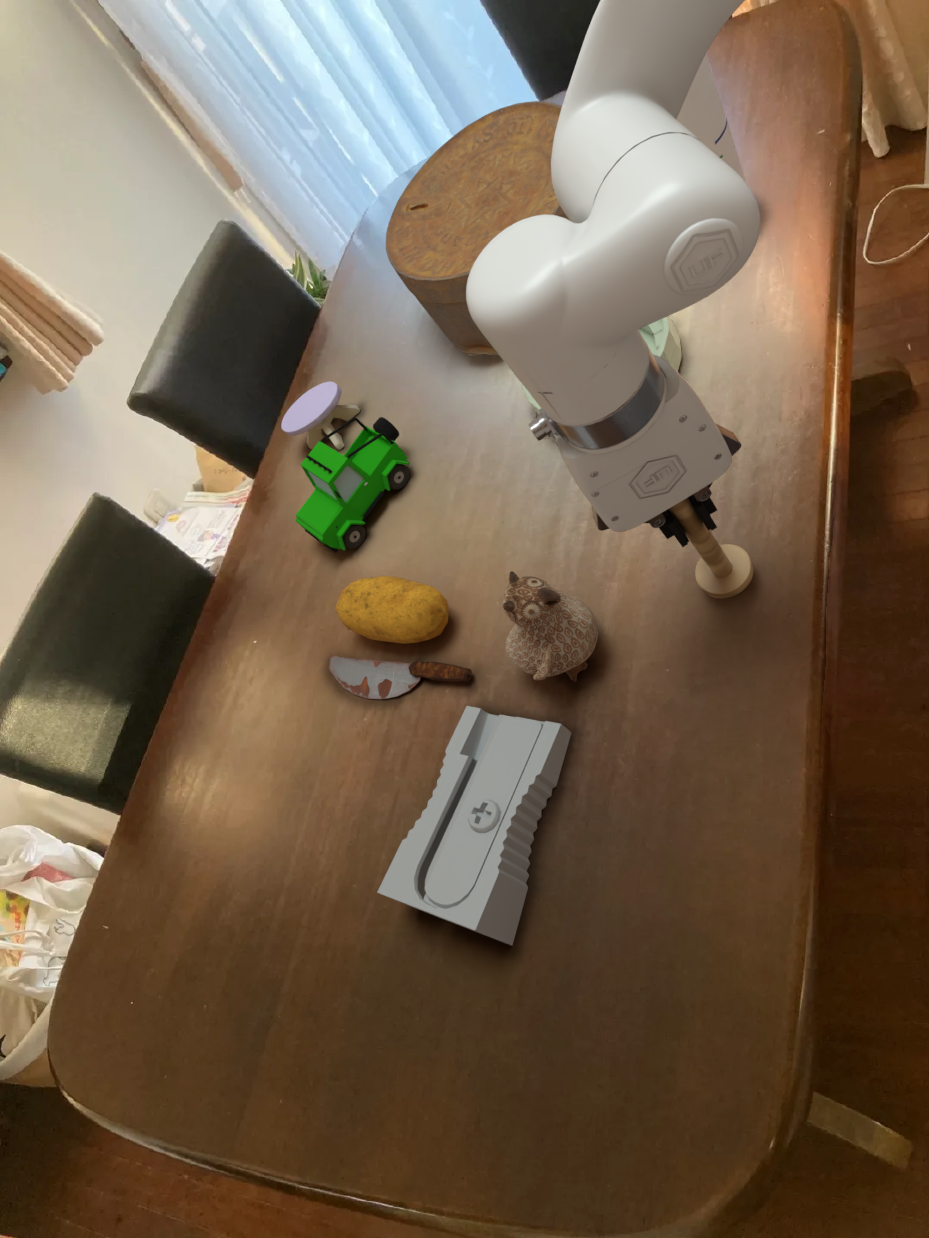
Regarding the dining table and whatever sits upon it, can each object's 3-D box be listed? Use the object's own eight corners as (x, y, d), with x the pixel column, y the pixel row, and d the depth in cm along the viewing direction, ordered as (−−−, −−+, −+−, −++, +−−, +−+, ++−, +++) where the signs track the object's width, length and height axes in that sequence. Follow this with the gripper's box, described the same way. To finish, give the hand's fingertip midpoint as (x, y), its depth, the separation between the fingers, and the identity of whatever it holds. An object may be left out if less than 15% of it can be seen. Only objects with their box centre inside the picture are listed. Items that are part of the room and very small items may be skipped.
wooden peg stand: (738, 539, 75) (686, 451, 64) (763, 580, 73) (713, 496, 61) (689, 566, 77) (629, 485, 66) (711, 608, 74) (653, 531, 63)
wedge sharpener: (417, 909, 79) (374, 899, 74) (478, 713, 85) (442, 691, 79) (512, 945, 73) (472, 938, 68) (571, 731, 78) (539, 708, 73)
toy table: (309, 468, 116) (281, 446, 112) (306, 423, 121) (280, 399, 116) (365, 437, 112) (338, 412, 108) (360, 391, 117) (334, 366, 113)
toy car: (315, 538, 109) (263, 500, 102) (393, 435, 110) (346, 389, 102) (349, 564, 104) (296, 526, 96) (430, 455, 104) (384, 408, 96)
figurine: (617, 694, 77) (549, 633, 66) (526, 704, 82) (447, 650, 71) (617, 607, 81) (552, 536, 70) (529, 622, 86) (455, 558, 74)
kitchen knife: (316, 690, 97) (326, 649, 98) (326, 692, 98) (336, 652, 99) (457, 711, 84) (467, 664, 85) (467, 714, 86) (476, 668, 87)
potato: (376, 588, 100) (340, 562, 94) (472, 599, 91) (438, 571, 86) (356, 642, 98) (317, 619, 92) (451, 659, 89) (415, 635, 84)
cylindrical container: (769, 206, 92) (705, -14, 72) (734, 258, 91) (660, 50, 72) (715, 201, 96) (641, -8, 77) (681, 250, 96) (599, 52, 77)
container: (496, 397, 101) (432, 311, 90) (414, 306, 119) (352, 224, 108) (677, 239, 97) (634, 129, 86) (564, 169, 115) (516, 70, 104)
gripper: (519, 497, 54) (625, 607, 68) (740, 356, 49) (805, 506, 63) (489, 423, 58) (594, 540, 72) (690, 286, 53) (761, 441, 67)
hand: (692, 524), depth 67 cm, fingers closed on wooden peg stand
